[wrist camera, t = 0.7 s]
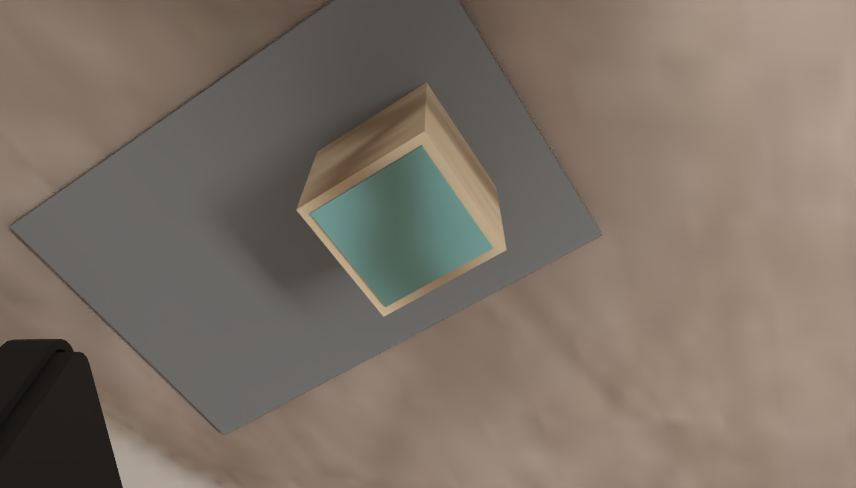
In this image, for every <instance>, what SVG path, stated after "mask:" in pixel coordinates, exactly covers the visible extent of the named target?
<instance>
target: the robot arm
mask: <svg viewBox="0 0 856 488" xmlns="http://www.w3.org/2000/svg"><path fill="white" fill-rule="evenodd" d="M0 488H123V487H122V484H121V480H120V476H119V472H118V468H117V465H116V461H115V457H114V454H113V450H112V446H111V442H110V439H109V435H108V431H107V428H106V424H105V420H104V416H103V413H102V409H101V405H100V402H99V398H98V394H97V391H96V387H95V383H94V379H93V376H92V372H91V368H90V365H89V362H88V359H87V357H86V356H85V355H84V353H81V352H73V349H72V347H71V345H70V344H69V343H68V342H67V341H65V340H62V339H25V340H10V341H7V342H6V343H5V344H3V345H2V346H1V347H0Z"/></svg>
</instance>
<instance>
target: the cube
mask: <svg viewBox="0 0 856 488" xmlns="http://www.w3.org/2000/svg"><path fill="white" fill-rule="evenodd" d="M296 210H297V212H298V213H299V214H300V215H301V216H302V218H303V219H304V220H305V221H306V223H307V224H308V225H309V226H310V227H311V229H312V230H313V231H314V232H315V234H316V235H317V236H318V237H319V238H320V240H321V241H322V242H323V243H324V245H325V246H326V247H327V248H328V249H329V251H330V252H331V253H332V254H333V256H334V257H335V258H336V259H337V260H338V262H339V263H340V264H341V265H342V267H343V268H344V269H345V270H346V271H347V273H348V274H349V275H350V276H351V278H352V279H353V280H354V281H355V282H356V284H357V285H358V286H359V287H360V289H361V290H362V291H363V292H364V293H365V295H366V296H367V297H368V298H369V300H370V301H371V302H372V303H373V304H374V306H375V307H376V308H377V309H378V311H379V312H380V313H381V314H382V315H383V317H384V316H386V315H388V314H390V313H392V312H393V311H395V310H397V309H399V308H401V307H403V306H404V305H406V304H408V303H410V302H412V301H414V300H416V299H417V298H419V297H421V296H423V295H425V294H427V293H428V292H430V291H432V290H434V289H436V288H438V287H439V286H441V285H443V284H445V283H447V282H449V281H450V280H452V279H454V278H456V277H458V276H460V275H461V274H463V273H465V272H467V271H469V270H471V269H473V268H474V267H476V266H478V265H480V264H482V263H484V262H485V261H487V260H489V259H491V258H493V257H495V256H496V255H498V254H500V253H502V252H504V251H506V250H507V249H506V243H505V237H504V231H503V225H502V219H501V213H500V207H499V200H498V194H497V188H496V186H495V184H494V183H493V181H492V180H491V178H490V177H489V175H488V174H487V172H486V171H485V169H484V168H483V166H482V165H481V163H480V162H479V160H478V159H477V157H476V156H475V154H474V153H473V151H472V150H471V148H470V147H469V145H468V144H467V142H466V141H465V139H464V138H463V136H462V135H461V133H460V132H459V130H458V129H457V127H456V126H455V124H454V123H453V121H452V120H451V118H450V117H449V115H448V114H447V112H446V111H445V109H444V108H443V106H442V105H441V103H440V102H439V100H438V99H437V97H436V96H435V94H434V93H433V91H432V90H431V88H430V87H429V85H428V84H427V82H426V83H425V84H423V85H422V86H420V87H418V88H417V89H415V90H414V91H412V92H410V93H409V94H407V95H406V96H404V97H403V98H401V99H399V100H398V101H396V102H395V103H393V104H392V105H390V106H388V107H387V108H385V109H384V110H382V111H381V112H379V113H377V114H376V115H374V116H373V117H371V118H369V119H368V120H366V121H365V122H363V123H362V124H360V125H358V126H357V127H355V128H354V129H352V130H351V131H349V132H347V133H346V134H344V135H343V136H341V137H340V138H338V139H336V140H335V141H333V142H332V143H330V144H328V145H327V146H325V147H324V148H322V149H321V150H319V151H317V154H316V156H315V159H314V162H313V165H312V168H311V170H310V173H309V176H308V179H307V181H306V184H305V187H304V190H303V192H302V195H301V198H300V201H299V203H298V206H297V209H296Z"/></svg>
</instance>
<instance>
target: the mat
mask: <svg viewBox="0 0 856 488" xmlns="http://www.w3.org/2000/svg"><path fill="white" fill-rule="evenodd" d="M426 82H427V84H428V85H429V87H430V88H431V90H432V91H433V93H434V94H435V96H436V97H437V99H438V100H439V102H440V103H441V105H442V106H443V108H444V109H445V111H446V112H447V114H448V115H449V117H450V118H451V120H452V121H453V123H454V124H455V126H456V127H457V129H458V130H459V132H460V133H461V135H462V136H463V138H464V139H465V141H466V142H467V144H468V145H469V147H470V148H471V150H472V151H473V153H474V154H475V156H476V157H477V159H478V160H479V162H480V163H481V165H482V166H483V168H484V169H485V171H486V172H487V174H488V175H489V177H490V178H491V180H492V181H493V183H494V184H495V186H496V188H497V194H498V200H499V207H500V213H501V219H502V225H503V231H504V237H505V243H506V249H507V250H506V251H504V252H502V253H500V254H498V255H496V256H495V257H493V258H491V259H489V260H487V261H485V262H484V263H482V264H480V265H478V266H476V267H474V268H473V269H471V270H469V271H467V272H465V273H463V274H461V275H460V276H458V277H456V278H454V279H452V280H450V281H449V282H447V283H445V284H443V285H441V286H439V287H438V288H436V289H434V290H432V291H430V292H428V293H427V294H425V295H423V296H421V297H419V298H417V299H416V300H414V301H412V302H410V303H408V304H406V305H404V306H403V307H401V308H399V309H397V310H395V311H393V312H392V313H390V314H388V315H386V316H384V317H383V315H382V314H381V313H380V312H379V311H378V309H377V308H376V307H375V306H374V304H373V303H372V302H371V301H370V300H369V298H368V297H367V296H366V295H365V293H364V292H363V291H362V290H361V289H360V287H359V286H358V285H357V284H356V282H355V281H354V280H353V279H352V278H351V276H350V275H349V274H348V273H347V271H346V270H345V269H344V268H343V267H342V265H341V264H340V263H339V262H338V260H337V259H336V258H335V257H334V256H333V254H332V253H331V252H330V251H329V249H328V248H327V247H326V246H325V245H324V243H323V242H322V241H321V240H320V238H319V237H318V236H317V235H316V234H315V232H314V231H313V230H312V229H311V227H310V226H309V225H308V224H307V223H306V221H305V220H304V219H303V218H302V216H301V215H300V214H299V213H298V212H297V210H296V209H297V206H298V203H299V201H300V198H301V195H302V192H303V190H304V187H305V184H306V181H307V179H308V176H309V173H310V170H311V168H312V165H313V162H314V159H315V156H316V154H317V151H319V150H321V149H322V148H324V147H325V146H327V145H328V144H330V143H332V142H333V141H335V140H336V139H338V138H340V137H341V136H343V135H344V134H346V133H347V132H349V131H351V130H352V129H354V128H355V127H357V126H358V125H360V124H362V123H363V122H365V121H366V120H368V119H369V118H371V117H373V116H374V115H376V114H377V113H379V112H381V111H382V110H384V109H385V108H387V107H388V106H390V105H392V104H393V103H395V102H396V101H398V100H399V99H401V98H403V97H404V96H406V95H407V94H409V93H410V92H412V91H414V90H415V89H417V88H418V87H420V86H422V85H423V84H425V83H426ZM10 228H11V229H12V230H13V231H14V232H15V233H16V234H17V235H18V236H19V237H20V238H21V239H22V240H23V241H24V242H25V243H26V244H27V245H28V246H30V247H31V248H32V249H33V250H34V251H35V252H36V253H37V254H38V255H39V256H40V257H41V258H42V259H43V260H44V261H45V262H46V263H47V264H48V265H49V266H50V267H51V268H52V269H53V270H54V271H55V272H56V273H57V274H58V275H59V276H60V277H62V278H63V279H64V280H65V281H66V282H67V283H68V284H69V285H70V286H71V287H72V288H73V289H74V290H75V291H76V292H77V293H78V294H79V295H80V296H81V297H82V298H83V299H84V300H85V301H86V302H87V303H88V304H89V305H90V306H91V307H92V308H93V309H95V310H96V311H97V312H98V313H99V314H100V315H101V316H102V317H103V318H104V319H105V320H106V321H107V322H108V323H109V324H110V325H111V326H112V327H113V328H114V329H115V330H116V331H117V332H118V333H119V334H120V335H121V336H122V337H123V338H124V339H125V340H127V341H128V342H129V343H130V344H131V345H132V346H133V347H134V348H135V349H136V350H137V351H138V352H139V353H140V354H141V355H142V356H143V357H144V358H145V359H146V360H147V361H148V362H149V363H150V364H151V365H152V366H153V367H154V368H155V369H156V370H157V371H159V372H160V373H161V374H162V375H163V376H164V377H165V378H166V379H167V380H168V381H169V382H170V383H171V384H172V385H173V386H174V387H175V388H176V389H177V390H178V391H179V392H180V393H181V394H182V395H183V396H184V397H185V398H186V399H187V400H188V401H189V402H191V403H192V404H193V405H194V406H195V407H196V408H197V409H198V410H199V411H200V412H201V413H202V414H203V415H204V416H205V417H206V418H207V419H208V420H209V421H210V422H211V423H212V424H213V425H214V426H215V427H216V428H217V429H218V430H219V431H220V432H221V433H222V434H224V435H226V434H227V433H229V432H231V431H233V430H235V429H237V428H239V427H241V426H243V425H244V424H246V423H248V422H250V421H252V420H254V419H256V418H258V417H260V416H261V415H263V414H265V413H267V412H269V411H271V410H273V409H275V408H277V407H278V406H280V405H282V404H284V403H286V402H288V401H290V400H292V399H294V398H295V397H297V396H299V395H301V394H303V393H305V392H307V391H309V390H311V389H312V388H314V387H316V386H318V385H320V384H322V383H324V382H326V381H328V380H329V379H331V378H333V377H335V376H337V375H339V374H341V373H343V372H345V371H347V370H348V369H350V368H352V367H354V366H356V365H358V364H360V363H362V362H364V361H365V360H367V359H369V358H371V357H373V356H375V355H377V354H379V353H381V352H382V351H384V350H386V349H388V348H390V347H392V346H394V345H396V344H398V343H399V342H401V341H403V340H405V339H407V338H409V337H411V336H413V335H415V334H416V333H418V332H420V331H422V330H424V329H426V328H428V327H430V326H432V325H433V324H435V323H437V322H439V321H441V320H443V319H445V318H447V317H449V316H450V315H452V314H454V313H456V312H458V311H460V310H462V309H464V308H466V307H468V306H469V305H471V304H473V303H475V302H477V301H479V300H481V299H483V298H485V297H486V296H488V295H490V294H492V293H494V292H496V291H498V290H500V289H502V288H503V287H505V286H507V285H509V284H511V283H513V282H515V281H517V280H519V279H520V278H522V277H524V276H526V275H528V274H530V273H532V272H534V271H536V270H537V269H539V268H541V267H543V266H545V265H547V264H549V263H551V262H553V261H554V260H556V259H558V258H560V257H562V256H564V255H566V254H568V253H570V252H571V251H573V250H575V249H577V248H579V247H581V246H583V245H585V244H587V243H588V242H590V241H592V240H594V239H596V238H598V237H600V236H602V234H601V232H600V230H599V228H598V227H597V225H596V223H595V222H594V220H593V218H592V217H591V215H590V214H589V212H588V210H587V209H586V207H585V205H584V204H583V202H582V200H581V199H580V197H579V196H578V194H577V192H576V191H575V189H574V187H573V186H572V184H571V183H570V181H569V179H568V178H567V176H566V174H565V173H564V171H563V169H562V168H561V166H560V165H559V163H558V161H557V160H556V158H555V156H554V155H553V153H552V152H551V150H550V148H549V147H548V145H547V143H546V142H545V140H544V138H543V137H542V135H541V134H540V132H539V130H538V129H537V127H536V125H535V124H534V122H533V121H532V119H531V117H530V116H529V114H528V112H527V111H526V109H525V107H524V106H523V104H522V103H521V101H520V99H519V98H518V96H517V94H516V93H515V91H514V90H513V88H512V86H511V85H510V83H509V81H508V80H507V78H506V76H505V75H504V73H503V72H502V70H501V68H500V67H499V65H498V63H497V62H496V60H495V59H494V57H493V55H492V54H491V52H490V50H489V49H488V47H487V45H486V44H485V42H484V41H483V39H482V37H481V36H480V34H479V32H478V31H477V29H476V28H475V26H474V24H473V23H472V21H471V19H470V18H469V16H468V14H467V13H466V11H465V10H464V8H463V6H462V5H461V3H460V1H459V0H333V1H331V2H330V3H329V4H327V5H326V6H324V7H323V8H321V9H320V10H319V11H317V12H316V13H314V14H313V15H311V16H310V17H308V18H307V19H306V20H304V21H303V22H301V23H300V24H298V25H297V26H296V27H294V28H293V29H291V30H290V31H288V32H287V33H286V34H284V35H283V36H281V37H280V38H278V39H277V40H275V41H274V42H273V43H271V44H270V45H268V46H267V47H265V48H264V49H263V50H261V51H260V52H258V53H257V54H255V55H254V56H253V57H251V58H250V59H248V60H247V61H245V62H244V63H243V64H241V65H240V66H238V67H237V68H235V69H234V70H232V71H231V72H230V73H228V74H227V75H225V76H224V77H222V78H221V79H220V80H218V81H217V82H215V83H214V84H212V85H211V86H210V87H208V88H207V89H205V90H204V91H202V92H201V93H200V94H198V95H197V96H195V97H194V98H192V99H191V100H189V101H188V102H187V103H185V104H184V105H182V106H181V107H179V108H178V109H177V110H175V111H174V112H172V113H171V114H169V115H168V116H167V117H165V118H164V119H162V120H161V121H159V122H158V123H156V124H155V125H154V126H152V127H151V128H149V129H148V130H146V131H145V132H144V133H142V134H141V135H139V136H138V137H136V138H135V139H134V140H132V141H131V142H129V143H128V144H126V145H125V146H124V147H122V148H121V149H119V150H118V151H116V152H115V153H113V154H112V155H111V156H109V157H108V158H106V159H105V160H103V161H102V162H101V163H99V164H98V165H96V166H95V167H93V168H92V169H91V170H89V171H88V172H86V173H85V174H83V175H82V176H80V177H79V178H78V179H76V180H75V181H73V182H72V183H70V184H69V185H68V186H66V187H65V188H63V189H62V190H60V191H59V192H58V193H56V194H55V195H53V196H52V197H50V198H49V199H48V200H46V201H45V202H43V203H42V204H40V205H39V206H37V207H36V208H35V209H33V210H32V211H30V212H29V213H27V214H26V215H25V216H23V217H22V218H20V219H19V220H17V221H16V222H15V223H13V224H12V225H11V226H10Z"/></svg>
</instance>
